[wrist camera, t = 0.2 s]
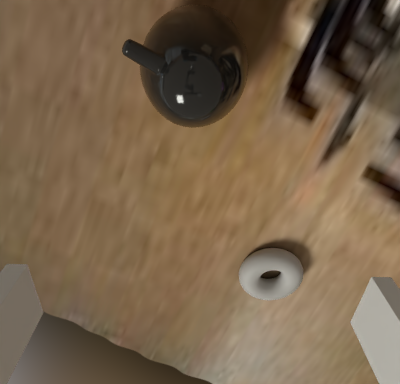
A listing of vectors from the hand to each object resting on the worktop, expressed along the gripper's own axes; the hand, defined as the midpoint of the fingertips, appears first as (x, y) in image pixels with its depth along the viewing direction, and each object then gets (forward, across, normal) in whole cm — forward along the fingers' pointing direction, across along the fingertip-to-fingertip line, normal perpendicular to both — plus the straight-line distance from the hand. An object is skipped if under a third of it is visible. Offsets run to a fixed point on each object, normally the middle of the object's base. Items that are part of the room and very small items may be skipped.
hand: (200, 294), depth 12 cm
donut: (+28, +12, -26) cm, 40 cm away
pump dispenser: (+28, -1, +5) cm, 28 cm away
